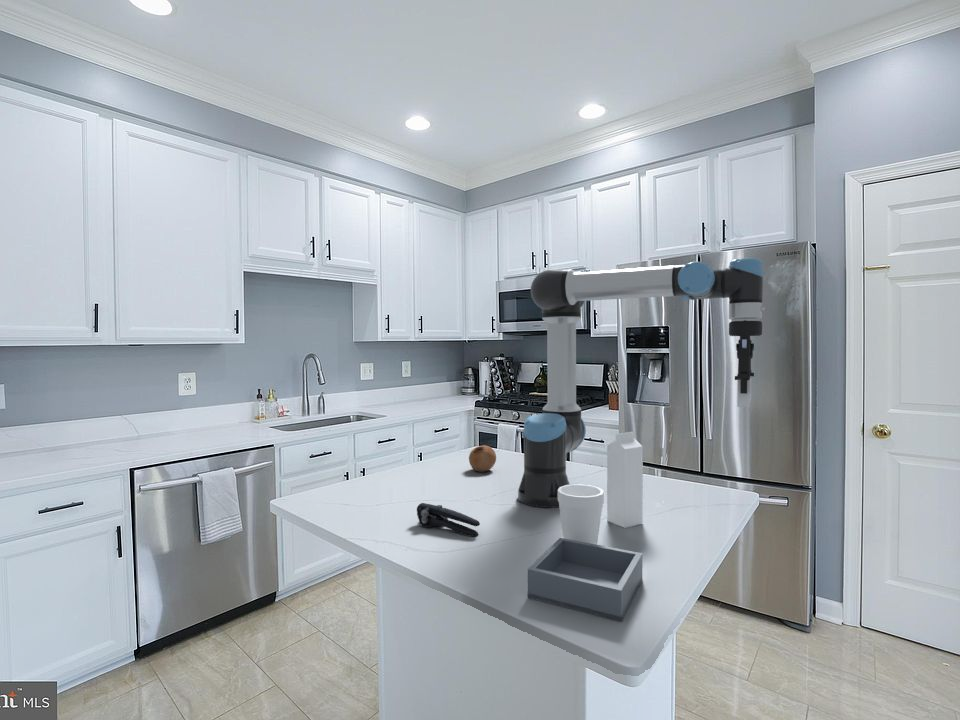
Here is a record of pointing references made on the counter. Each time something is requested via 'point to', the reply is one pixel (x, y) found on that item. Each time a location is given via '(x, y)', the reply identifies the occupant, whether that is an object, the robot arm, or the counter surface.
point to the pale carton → (625, 481)
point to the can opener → (445, 519)
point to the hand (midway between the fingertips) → (744, 404)
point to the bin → (586, 578)
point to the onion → (482, 458)
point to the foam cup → (580, 512)
